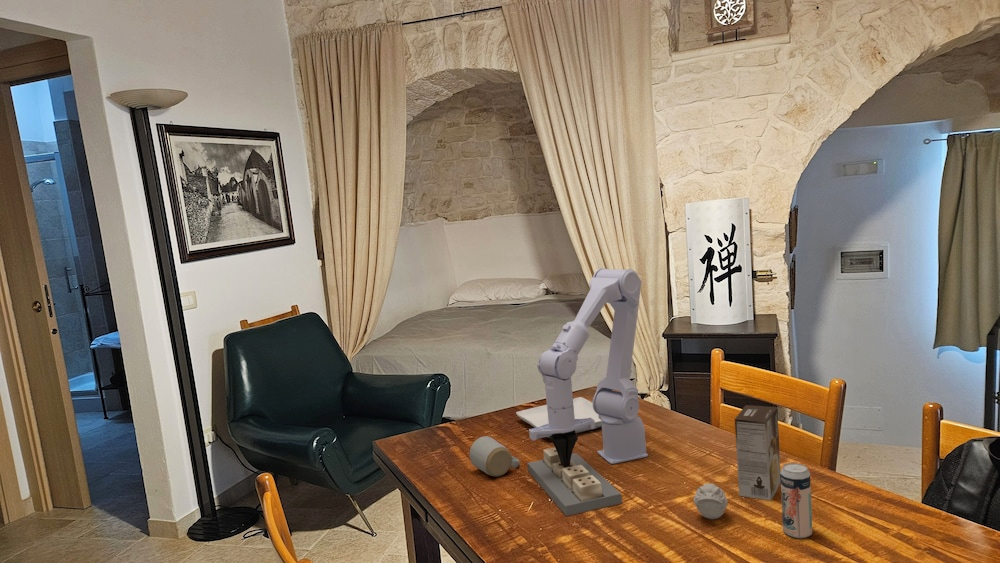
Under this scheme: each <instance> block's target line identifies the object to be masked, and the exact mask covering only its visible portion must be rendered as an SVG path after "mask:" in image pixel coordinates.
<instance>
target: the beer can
mask: <svg viewBox="0 0 1000 563" xmlns="http://www.w3.org/2000/svg"><path fill="white" fill-rule="evenodd" d="M780 478H781V483H780V492H781V493H780V494H781V495H780V496H781V500H780V501H781V516H782V517H781V519H782V520H781V521H782V531H783V533H784V534H786V535H788V536H789V537H791V538H793V539H794V538H795V539H805V538H808V537H810V536H812V534H813V533H814V532H813V512H812V509H813V508H812V487H811V486H812V485H811V484H812V483H811V472H810V470H809V469H808V467H807V466H806V465H804V464H801V463H796V462H795V463H794V462H793V463H792V462H791V463H790V462H789V463H785V464H783V466H782V468H781V469H780Z"/></svg>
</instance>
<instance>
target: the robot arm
mask: <svg viewBox="0 0 1000 563" xmlns="http://www.w3.org/2000/svg"><path fill="white" fill-rule="evenodd" d="M641 290H642V279H641V278H640V277H639V275H638V272H636V271H635V270H634V269H631V268H628V269H618V268H617V269H616V268H615V269H614V268H611V269H610V268H602V267H601V268H598V269H596V270H595V271H594V273H593V276H592V277H591V278H590V280H589V291H588V293H587V295H586V297H585V299H584V300H583V303H582V305H581V306H580V309H579V310H578V312H577V314H576V316H575V319H574V320H572V321H568V322H566V323H565V324H564V325H563V326H562V328H561V332H559V335H558V336H557V338H556V339H555V341H554V343H553V344H552V345H551V347H550V348H549V349H547V350H545V351H544V352H543V353H542V354H540V357H539V358H538V363H537V364H536V367H537V370H538V372H539V374H540V375H541V377H542V382H543V384H544V387H545V388H544V389H545V400H546V405H547V411H548V422H549V423H548V424H545V425H542V426H539V427H536V428H535V427H533V428H529V429H528V433H529V439H530V440H531V441H537V440H538V439H542V438H548V436H549V437H550V438H549V439H550V440H551V442H552V444H553V446H554V447H555V448H556V450H557V453H558V455H559V458H560V462H561V465H562V466H563V467H568V466H570V460H571V455H572V454H573V450H574V447H575V445H576V443H577V441H578V438H579V437H578V433H575V431H578V430H583V429H589V428H590V429H592V430H596V428H595V420H594V419H592V418H584V419H575V417H574V405H573V399H574V397H573V395H574V394H573V384H572V376H573V375H574V374H575V373H576V371H577V362H578V360H579V359H578V358H579V356H578V355H579V354H580V353H581V350H582V349H583V347H584V346H585V344H586V343H587V340H588V338H589V337H590V334H589V327H590V326H591V325H592V323H593V322H594V321H595V319H597V316H598V315H599V313H600V312H601V311H602V310H603V308H604V307H605V305H606V304H609V305H610V306H611V307H612V309H613V311H614V312H613V313H614V314H613V319H612V320H613V321H612V328H611V335H610V342H609V343H610V344H609V352H608V361H607V367H606V376H605V377H604V378H602V379H601V380H600V381H598V383H597V386H596V391H595V394H594V395H593V398H592V403H593V409H594V411H595V412H596V413H597V414H598V415H599V419H601V424H602V427H601V434H602V446H603V447H602V448H603V449H600V450H597V452H596V453H597V454H598V455H599V456H601V457H602V458H603V459H604V460H605V461H607V462H608V463H609V464H610V465H614V464H619V463H623V462H630V461H633V460H637V459H642V458H643V459H644V458H647V457H648V456H649V454H648V453H647V445H646V431H645V424H644V423H643V420H642V418H641V417H640V416H639V415H638V413H639V410H640V402H639V389H638V387H636V385H635V384H634V383H633V381H631V371H632V362H633V357H634V355H633V354H634V346H635V339H636V330H637V324H638V314H639V304H640V296H641Z"/></svg>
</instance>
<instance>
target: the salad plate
mask: <svg viewBox="0 0 1000 563" xmlns="http://www.w3.org/2000/svg"><path fill="white" fill-rule="evenodd" d="M573 405H574V417H575V419H584V418H592V419H594V420H595V429H599V428H602V424H601V419H599V415H598V414H597V413H596V412H595V411H594V409H593V401H591V400H588V399H586V398H584V397H582V396H579V397H575V398H574V397H573ZM515 414H516V415H517V417H518V418H520V419H521V420H522V421H524V422H525V423H527V424H529V425H530V426H532V427H533V428H536V427H539V426H542V425H545V424H548V423H549V422H548V411H547V404H543V405H541V406H540V405H539V406H536V407H530V408H528V409H524V410H519V411H516V412H515ZM590 430H592V431H593V429H590V428H589V429H583V430H578V431H575V433H576V434H579V433H583V432H588V431H590ZM547 438H549V439H550V437H549V436H548V437H547Z"/></svg>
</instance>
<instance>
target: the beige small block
mask: <svg viewBox="0 0 1000 563" xmlns="http://www.w3.org/2000/svg"><path fill="white" fill-rule="evenodd" d="M562 476H563V483H564V484H565V486H566V487H567V488H568V489H569V490H572V489H573V480H572V479H576V478H581V477H585V476H590V475H589V471H587V470H586V469H585V468H584V467H583V466H582V465H577V466H572V467H567V468H563V469H562Z"/></svg>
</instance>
